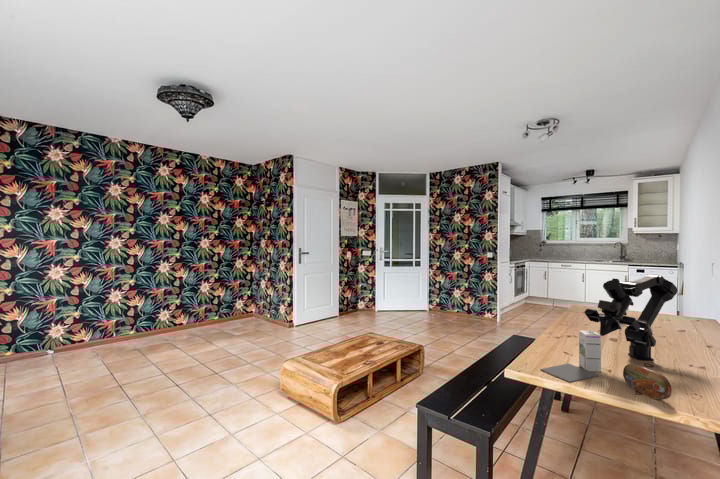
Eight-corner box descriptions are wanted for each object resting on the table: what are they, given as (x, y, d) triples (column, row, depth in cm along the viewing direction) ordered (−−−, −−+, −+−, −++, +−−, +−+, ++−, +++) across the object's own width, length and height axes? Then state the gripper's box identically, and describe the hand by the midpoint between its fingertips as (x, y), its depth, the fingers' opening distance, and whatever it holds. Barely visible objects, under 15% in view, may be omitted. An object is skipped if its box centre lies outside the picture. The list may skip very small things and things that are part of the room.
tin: (622, 383, 117) (622, 360, 117) (630, 383, 117) (630, 360, 117) (664, 405, 102) (664, 378, 102) (673, 404, 102) (674, 377, 102)
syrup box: (601, 372, 127) (602, 334, 127) (584, 370, 128) (585, 333, 128) (594, 366, 133) (594, 330, 133) (578, 365, 134) (578, 329, 134)
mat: (568, 364, 135) (568, 363, 135) (598, 375, 124) (598, 374, 124) (540, 370, 129) (540, 369, 129) (569, 382, 118) (569, 381, 118)
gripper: (587, 290, 144) (569, 317, 140) (636, 297, 126) (617, 328, 122) (598, 306, 147) (581, 333, 143) (648, 316, 129) (630, 347, 125)
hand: (601, 335), depth 133 cm, fingers closed
